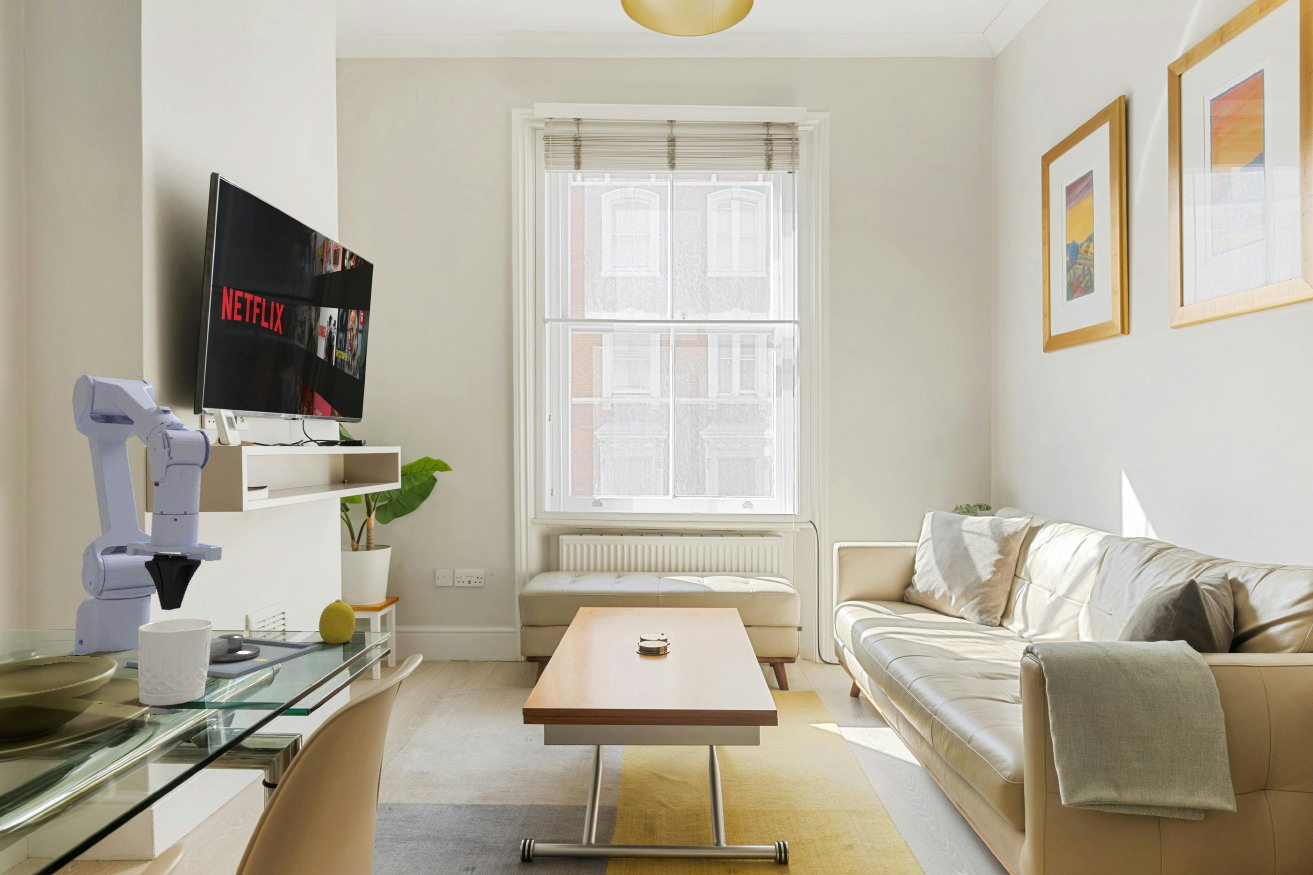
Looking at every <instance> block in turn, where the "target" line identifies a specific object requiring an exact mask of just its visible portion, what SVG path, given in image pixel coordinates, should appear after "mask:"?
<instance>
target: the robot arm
mask: <svg viewBox="0 0 1313 875" xmlns="http://www.w3.org/2000/svg"><path fill="white" fill-rule="evenodd" d="M72 392H73V393H72V397H71V403H72V412H73V419H74V423H75V426H76V427H75V428H76V431H77V432H79V433H80V434H82V435H84V436H85V437H87V439H88V445H89V449H90V451H89V452H90V456H91V463H92V464H91V465H92V471H93V478H94V487H95V493H96V501H97V507H98V516H99V522H100V528H101V535H100V536H99V537H98V538H96V539H95V540H93V541H92V542H91V543H89V544H88V545H87V546H86V547H85V549H84V550H83V553H82V568H81V584H82V587H83V590H84V591H85V592H86V593H87V594H88V595H89V596H87V597H86V598H84V599H83V600H82V602H80V604H79V607H78V608H77V611H76V618H75V633H74V634H75V635H74V649H73V650H70V651H69V652H68V654H69V655H70V656H75V655H80V656H84V655H87V654H93V653H96V652H97V653H98V652H120V651H129V650H136V649H138V628H139V627H140V626H142V625H144V624H148V623H151V621H150V620H151V605H152V604H151V603H152V595H156V593H157V595H158V601H159V605H160V608H161V610H162V611H172V610H177V609H181V607H182V603H183V601H184V597H185V595H186V592H187V589H188V586H189V585H190V582H191V580H192V578H193V577H194V575H195V573H196V572H197V570H198V569H199V568H200V566H201V565H202V561H205V562H214V561H221V560H222V554H223V553H222V552H223V546H222V545H213V544H205V543H199V542H198V541H199V539H198V538H199V536H198V535H199V521H200V520H199V519H200V518H199V517H200V500H201V497H200V496H201V483H202V482H201V480H202V479H201V478H202V470H204V469H205V468H206V467H207V465H208V464H209V462H210V461H209V460H210V458H211V441H210V437H209V436H208V435H207V433H206V431H205V430H202V429H195V430H190V429H189V428H188V427H187V426H186V425H185V424H184V422H182V421H181V420H180V419H179V418H178V416H176V414H174V413H173V412H172V409H171V408H170V407H169V406H162V405H161V406H160V405H157V404H156V403H155V396H156V395H155V390H154V386H153V385H152V384H151V383H150V381H148V380H147V379H141V380H137V379H136V380H135V379H128V378H127V379H126V378H115V377H105V376H94V375H93V376H92V375H90V374H83V375H80V377H79V378H77V380H76V381H75V384H74V387H73V391H72ZM136 436H137V438H138V439H139V440H140V442H142V443H143V445H145V447H147V451H146V453H147V460H148V465H149V468H150V469H149V477H150V481H152V482H153V494H152V495H153V496H152V514H151V516H152V517H151V518H152V519H151V531H150V534H148V533H146V532H145V531H143V530H141V529H140V524H139V518H138V511H137V505H136V504H137V503H136V498H135V497H136V496H135V491H134V485H133V478H132V472H131V467H130V466H131V465H130V459H129V452H128V447H127V446H128V445H127V441H128V439H130V438H133V437H136Z"/></svg>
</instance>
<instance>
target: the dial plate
mask: <svg viewBox="0 0 1313 875" xmlns="http://www.w3.org/2000/svg"><path fill="white" fill-rule="evenodd" d="M217 638H218V637H214V638H211V640H213V639H217ZM243 644H245V645H255V646H258V647H260V654H259V655H258V656H256V657H254V658H250V659H246V660H241V661H233V662H215V663H212V664H209V666H208V673H207V677H215V678H216V677H218V678H225V679H238V678H241V677H243V676H246V675H249V674H253V673H255V672H259V671H261V670H265V669H267V668H270V667H273V666H276V665H280V664H281V663H285V662H287V661H291V660H293V659H296V658H299V657H302V656H305V655H308V654H310V653H314V652H317V651H319V650H322V649H323V644H320V643H319V644H317V643H310V642H309V643H308V642H300V641H299V642H298V641H297V642H296V641H288V640H276V639H269V638H268V639H266V638H257V637H246V636H243ZM125 665H126V667H129V668H135V669H138V658H136V659H131V660H128V661H126V664H125Z"/></svg>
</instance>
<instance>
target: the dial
mask: <svg viewBox="0 0 1313 875" xmlns="http://www.w3.org/2000/svg"><path fill="white" fill-rule="evenodd" d="M243 637H244V634H239V633H230V634H224V635H223V634H222V635H219V636H218V637H216V638H217V639H214V638H212V639H213V640H211V647H210V657H209V664H212V663H215V662H233V661H241V660H246V659H250V658H254V657H256V656H258V655H259V654H260V647H258V646H255V645H245V644H243Z"/></svg>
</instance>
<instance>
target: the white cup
mask: <svg viewBox="0 0 1313 875" xmlns="http://www.w3.org/2000/svg"><path fill="white" fill-rule="evenodd" d="M213 626H214V622H213V621H211V620H207V619H201V618H180V619H179V618H177V619H165V620H159V621H153V622H150V623H148V624H144V625H142V626H140V627H139V628H138V648H137V659H138V668H137V669H138V670H137V671H138V682H137V683H138V688H139V692H138V693H139V695H138V696H139V697H138V698H139V703H141V704H143V705H147V704H148V706H150V707H151V706H171V705H178V704H185V703H188V702H193V701H195V700H199V698H202V697H204V695H205V689H206V682H207V680H208V676H207V673H208V666H209V657H210V647H211V639H212V636H213ZM184 712H185V711H184V710H176V709H167V708H159V707H151V708H150V710H149V713H150V714H149V715H154V714H157V715H171V714H178V713H179V714H180V713H184Z"/></svg>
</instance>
